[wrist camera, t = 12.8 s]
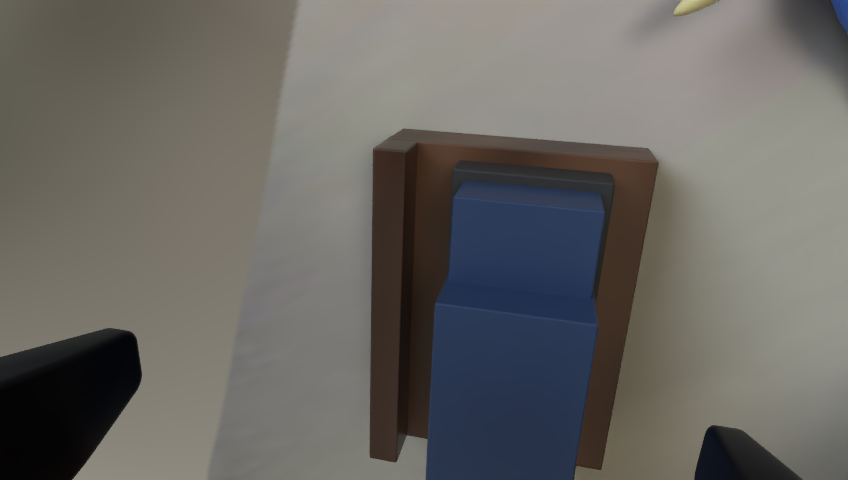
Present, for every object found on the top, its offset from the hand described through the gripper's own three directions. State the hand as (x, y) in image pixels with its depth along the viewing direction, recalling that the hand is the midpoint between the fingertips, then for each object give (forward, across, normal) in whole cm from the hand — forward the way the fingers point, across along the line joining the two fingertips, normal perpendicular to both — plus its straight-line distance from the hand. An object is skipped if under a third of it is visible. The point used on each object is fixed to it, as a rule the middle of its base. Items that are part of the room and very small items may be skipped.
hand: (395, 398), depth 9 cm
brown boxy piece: (+12, -1, +4) cm, 13 cm away
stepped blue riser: (+10, -2, +3) cm, 11 cm away
